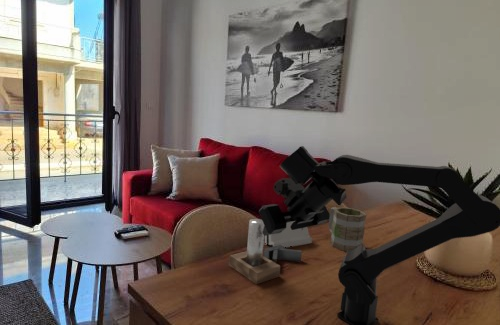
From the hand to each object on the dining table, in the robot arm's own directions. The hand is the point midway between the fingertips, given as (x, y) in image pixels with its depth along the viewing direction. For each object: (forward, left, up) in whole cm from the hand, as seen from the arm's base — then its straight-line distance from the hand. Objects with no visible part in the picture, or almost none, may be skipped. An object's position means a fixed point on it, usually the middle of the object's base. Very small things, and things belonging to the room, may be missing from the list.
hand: (278, 231), depth 85 cm
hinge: (+18, -23, -14) cm, 32 cm away
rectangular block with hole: (+7, +1, -13) cm, 15 cm away
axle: (+7, +1, -13) cm, 15 cm away
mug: (+8, -40, -14) cm, 43 cm away
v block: (+8, -10, -13) cm, 19 cm away
